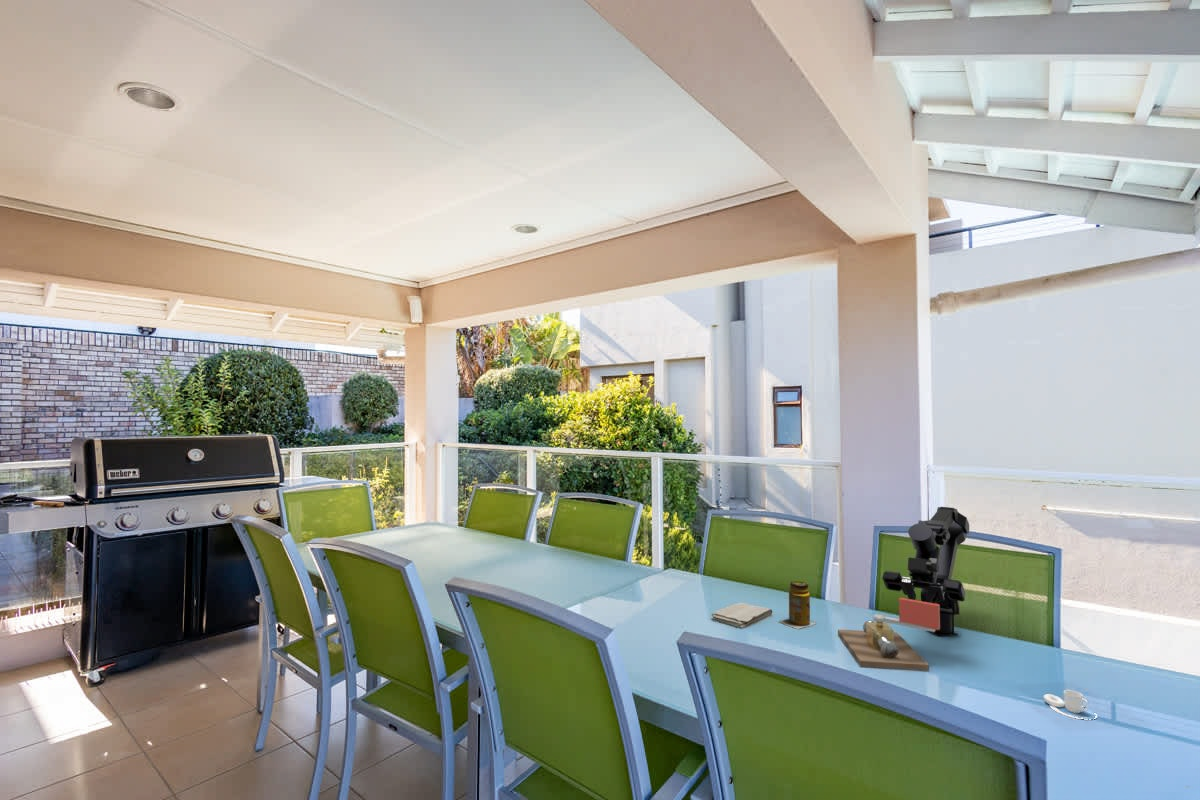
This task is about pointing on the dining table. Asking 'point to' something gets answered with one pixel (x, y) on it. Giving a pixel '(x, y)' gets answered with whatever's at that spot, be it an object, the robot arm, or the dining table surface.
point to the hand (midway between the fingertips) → (918, 614)
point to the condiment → (798, 606)
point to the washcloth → (741, 615)
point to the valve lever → (915, 615)
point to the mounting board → (875, 658)
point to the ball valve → (881, 638)
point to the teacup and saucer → (1067, 702)
